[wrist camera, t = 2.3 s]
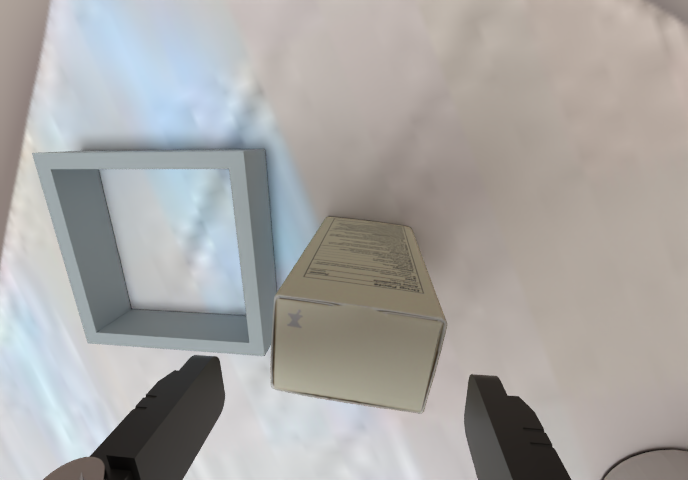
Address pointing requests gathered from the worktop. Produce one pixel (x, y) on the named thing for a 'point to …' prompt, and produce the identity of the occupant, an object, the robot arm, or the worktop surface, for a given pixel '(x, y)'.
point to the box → (104, 264)
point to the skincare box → (358, 319)
